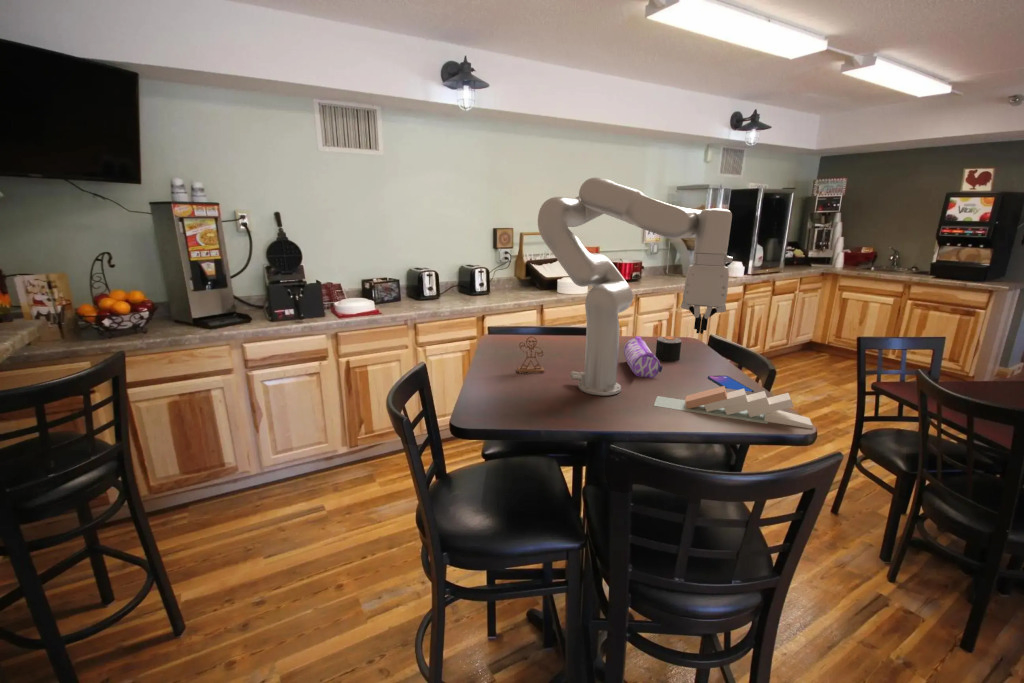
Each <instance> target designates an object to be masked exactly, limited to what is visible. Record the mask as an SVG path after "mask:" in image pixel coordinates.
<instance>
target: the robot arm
mask: <svg viewBox="0 0 1024 683" xmlns="http://www.w3.org/2000/svg"><path fill="white" fill-rule="evenodd" d="M578 190H579V191H578V196H575V197H567V196H566V197H565V196H554V197H550V198H548V199H546V200H545V201H544V202H543V203H542V204H541V206H540V208H539V210H538V216H537V228H538V232H539V234H540V237H541V239H542V240H543V242H544V244H545V245H546V246H547V248H548V249H549V250H550V251H551V253H552V254H553V255H554V257H555V259H556V260H557V261H558V263H559V264H560V266H561V267H562V269H563V270H564V271H565V273H566V274H567V276H568V277H569V278H570V280H571V281H572V283H573V284H575V285H576V286H578V287H590V286H591V287H592V288H591V289H590V290H589V291H588V293H587V294H586V297H585V300H584V301H585V302H584V304H585V305H584V307H585V317H586V318H585V319H586V329H585V330H586V332H585V333H586V335H585V336H586V338H585V352H584V353H585V355H584V371H581V372H578V371H574V370H572V371H571V372H570V378H571V379H572V380H575V381H579V382H578V386H577V387H578V389H579V390H580V391H581V392H583V393H585V394H589V395H594V396H602V397H603V396H604V397H605V396H606V397H607V396H612V395H613V396H614V395H617V394H619V393H620V392H622V386H621V384H620V383H618V382H617V377H618V376H617V375H618V364H619V363H618V361H619V360H618V358H619V348H620V347H619V346H620V332H621V330H620V320H619V314H620V313H622V312H624V311H626V310H628V309H629V308H630V307H631V305H632V303H633V300H634V294H633V290H632V288H631V286H630V285H629V283H628V282H627V281H626V279H625V277H624V276H623V275H622V273H621V272H620V271H619V269H618V268H617V267H616V266H615V264H614V263H613V261H611V260H610V259H609V258H608V257H607V256H606V255H604V254H602V253H598V252H589V250H588V249H587V248H586V247H585V246H584V245H583V244H582V242H581V239H579V237H578V236H577V235H575V233H574V232H572V231H571V230H570V229H569V228H575V227H580V226H583V225H584V224H585V225H586V224H587V223H588V222H590V221H593V220H594V219H596V218H598V217H600V216H603V215H605V216H609V217H611V218H612V217H613V218H615V219H617V220H620V221H623V222H625V223H627V224H630V225H632V226H635V227H637V228H640V229H642V230H643V231H644V230H645V231H648V232H649V233H653V234H655V235H659V236H661V237H664V238H667V239H671V240H672V239H673V240H676V239H692V238H695V240H694V241H695V242H694V250H693V257H692V264H689V265H688V269H687V271H686V276H685V277H686V278H685V282H684V288H683V293H682V301H681V304H680V308H681V309H685V310H688V311H690V313H691V314H692V315H693V316H694V324H693V325H694V327H693V330H696V333H695V334H700V335H703V334H704V331H707V330H708V329H707V328H708V321H709V318H711V317H712V316H714V315H715V314H716V313H726V311H727V307H726V306H727V304H726V302H727V298H728V291H729V290H728V288H729V267H728V266H726V264H729V263H733V259H734V258H733V256H729V255H728V254H727V253H728V247H729V241H730V234H731V226H732V219H733V213H732V212H731V210H729V209H725V208H706V209H694V208H687V207H682V206H677V205H672V204H671V203H670V204H669V203H666V202H664V201H661V200H657V199H655V198H651V197H649V196H647V195H646V194H645V193H644V192H642V191H640V190H638V189H637V188H636V189H635V188H632V187H629V186H625V185H623V184H619V183H616V182H615V181H613V180H611V179H605V178H602V177H601V178H600V177H590V178H588V179H586V180H585V181H583V183H582V184H581V185H580V188H579V189H578ZM701 307H706V310H705V312H704V314H703V316H702V314H701Z"/></svg>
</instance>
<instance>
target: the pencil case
mask: <svg viewBox="0 0 1024 683" xmlns="http://www.w3.org/2000/svg"><path fill="white" fill-rule="evenodd" d="M623 355H624V358H625V361H626V363H627V365H628V366H629V368H630V370H631V371H632V373H633V374H634V375H635V376H636V377H639V378H640V377H641V378H648V379H654V378H656V376H657V375H658V373H661V372H662V370H663V365H661V362H660V359H658V358H656V356H655V355H656V354H655V353H653V352H652V351H651V350H650V348H649V346H648V345H647V343H646V341H644V339H642V336H635V337H634V338H631V339H628V340H627V342H626V343H625V345H624V347H623Z"/></svg>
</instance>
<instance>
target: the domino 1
mask: <svg viewBox="0 0 1024 683" xmlns="http://www.w3.org/2000/svg"><path fill="white" fill-rule="evenodd" d="M727 393H728V392H727V388H725V386H722V387H721V386H719V387H715V388H711V389H708V390H704V391H699V392H696V393H692V394H687V395H686V396H685V399H684V400H685V403H686V406H687V408H688V409H690V408H694V407H698V406H702V405H705V404H709V403H713V402H717V401H721V400H725V399H727Z"/></svg>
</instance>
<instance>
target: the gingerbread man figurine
mask: <svg viewBox="0 0 1024 683" xmlns="http://www.w3.org/2000/svg"><path fill="white" fill-rule="evenodd" d="M531 338H533V339H532V340H531ZM534 339H535V340H534ZM530 343H532V344H530ZM521 344H522V345H521ZM537 344H538V341H537V338H536V337H535V336H529V337H527V338H526V339H525V342H524V341H521V342H520V343H519V346H518V347H519V349H520V350H521V351H522V352H523V353H526V358H525V360H524V361H523V363H522V364H521V365H520V366H519V367H516V371H517V370H518V371H517V373H518V372H545V373H546V371H545V368H544V367H543V366H541V365H540V363H539V361H538V360H537V356H538V357H540V358H542V357H543V356H544V351H543V349H542V348H541V347H540V346H537ZM522 347H525V348H526V349H527V348H528V350H529V352H530V354H529V355H528V351H527V350H526V351H525V350H523V349H522ZM535 348H538V349H539V350H541V351H539V352H538V351H536V350H535ZM534 350H535V351H534ZM533 351H534V356H533ZM536 354H537V355H536ZM540 354H541V355H540ZM528 359H530V361H529V362H528V363H527V365H526V364H525V362H527V360H528ZM532 359H535V361H536V362H537V364H534V363H533V361H532ZM530 364H532V366H530Z"/></svg>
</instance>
